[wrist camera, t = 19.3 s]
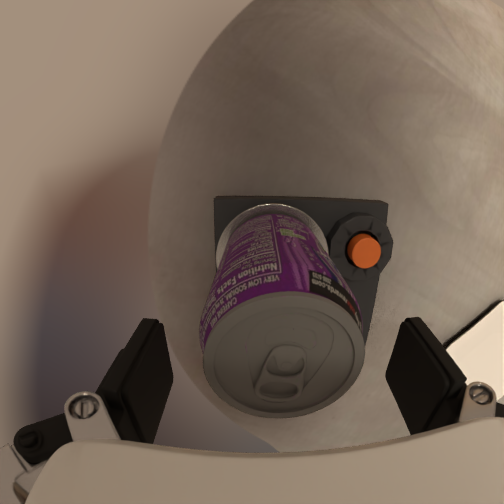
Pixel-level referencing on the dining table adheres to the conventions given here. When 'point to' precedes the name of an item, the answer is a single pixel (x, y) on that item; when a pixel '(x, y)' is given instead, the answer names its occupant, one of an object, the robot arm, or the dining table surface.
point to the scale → (330, 235)
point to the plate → (482, 350)
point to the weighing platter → (263, 210)
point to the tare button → (364, 250)
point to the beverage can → (280, 322)
